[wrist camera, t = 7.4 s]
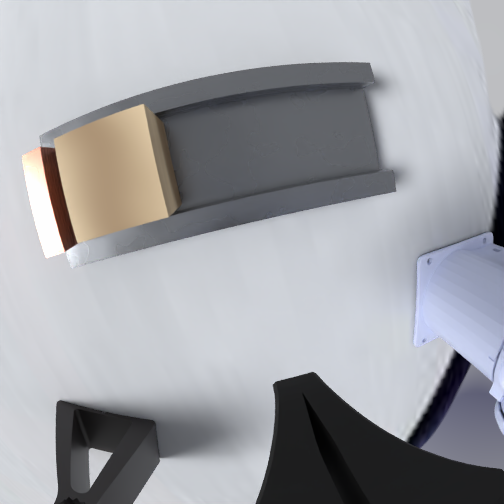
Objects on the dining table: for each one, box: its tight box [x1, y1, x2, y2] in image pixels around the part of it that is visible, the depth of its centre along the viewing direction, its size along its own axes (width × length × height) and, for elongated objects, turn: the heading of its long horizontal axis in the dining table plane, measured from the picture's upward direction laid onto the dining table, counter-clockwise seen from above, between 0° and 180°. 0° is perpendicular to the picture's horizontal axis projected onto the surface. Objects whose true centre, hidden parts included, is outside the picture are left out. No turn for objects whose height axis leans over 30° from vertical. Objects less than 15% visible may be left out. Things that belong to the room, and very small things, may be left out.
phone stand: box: [54, 401, 160, 504], centre depth 14 cm, size 9×6×12 cm, turn 81°
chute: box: [22, 62, 396, 268], centre depth 13 cm, size 18×7×4 cm, turn 102°
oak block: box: [54, 104, 182, 243], centre depth 12 cm, size 4×4×4 cm
